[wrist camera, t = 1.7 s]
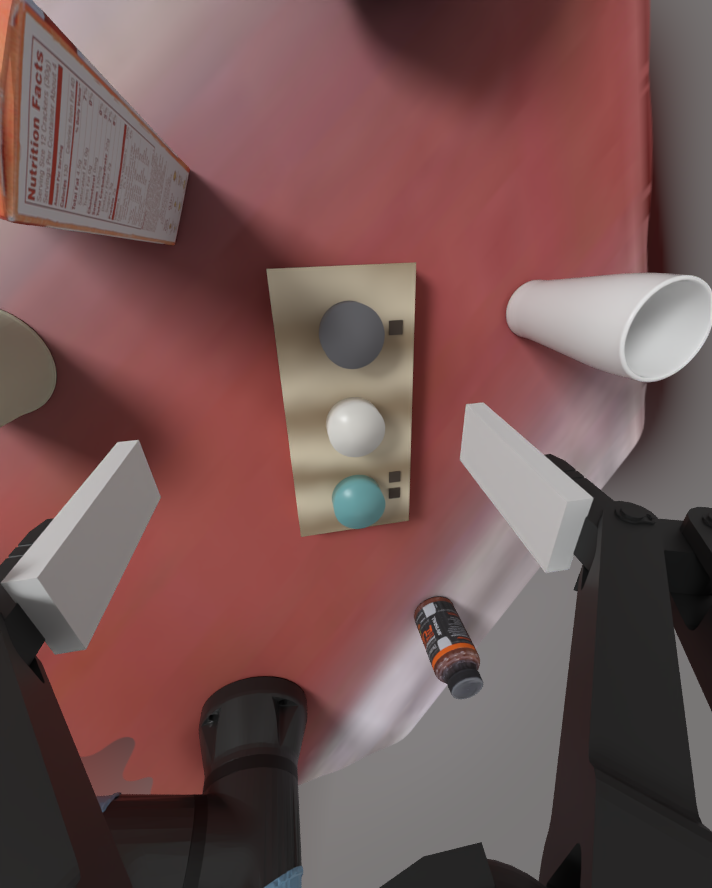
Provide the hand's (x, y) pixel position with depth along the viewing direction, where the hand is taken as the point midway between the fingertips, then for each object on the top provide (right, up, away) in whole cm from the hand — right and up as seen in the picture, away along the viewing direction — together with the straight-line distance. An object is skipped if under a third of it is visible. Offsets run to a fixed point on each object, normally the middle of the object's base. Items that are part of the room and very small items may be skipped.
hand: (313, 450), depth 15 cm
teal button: (+2, -5, +22) cm, 23 cm away
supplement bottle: (+13, -24, +38) cm, 47 cm away
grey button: (+1, +9, +15) cm, 18 cm away
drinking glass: (+19, +14, +22) cm, 32 cm away
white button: (+1, +2, +19) cm, 19 cm away
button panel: (+1, +4, +22) cm, 23 cm away
